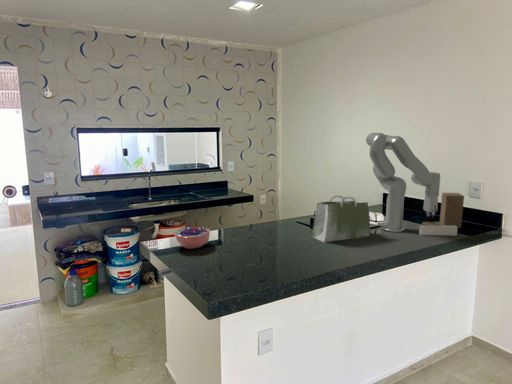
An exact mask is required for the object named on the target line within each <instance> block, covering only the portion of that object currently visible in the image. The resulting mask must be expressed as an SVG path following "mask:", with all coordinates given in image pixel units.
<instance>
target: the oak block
mask: <svg viewBox="0 0 512 384" xmlns="http://www.w3.org/2000/svg"><path fill="white" fill-rule="evenodd" d="M421 225H442V226H446V225H444V224H442V223H440V221H433V222H426V221H422V223H421Z"/></svg>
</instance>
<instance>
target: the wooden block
mask: <svg viewBox="0 0 512 384" xmlns="http://www.w3.org/2000/svg"><path fill="white" fill-rule="evenodd" d="M464 199H465V196H464V195H463V194H461V193H459V192H441V200H440V201H441V204H440V213H439V222H440V223H442V224H444V225H446V226H457V227H458V229H460V228H462V224H463V223H462V222H463V220H462V219H463V211H464Z"/></svg>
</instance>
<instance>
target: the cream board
mask: <svg viewBox="0 0 512 384" xmlns="http://www.w3.org/2000/svg"><path fill="white" fill-rule="evenodd" d="M458 229H459V228H458V227H457V226H442V225H422V224H419V226H418V235H420V236H456V237H457V235H458Z"/></svg>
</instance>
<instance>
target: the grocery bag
mask: <svg viewBox="0 0 512 384" xmlns="http://www.w3.org/2000/svg"><path fill="white" fill-rule="evenodd" d="M335 198H340V199H341V200H340V201H333V199H335ZM348 199H349V200H348ZM345 200H346V201H345ZM312 226H313V227H312V230H311V234H310V238H314V239H316V240H318V241H320V242H323V243H329V242H334V241H341V240H351V239H361V238H365V237H370V236H371V235H372V234H371V223H370V211H369V203H368V201H367V202H366V201H365V202H358V201H357V200H356V199H355V198H354V197H352V196H343V195H334V196H331V198H330V199H329V201H322V202H320V201H319V202H317V203H316V209H315V217H314V220H313V225H312Z"/></svg>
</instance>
